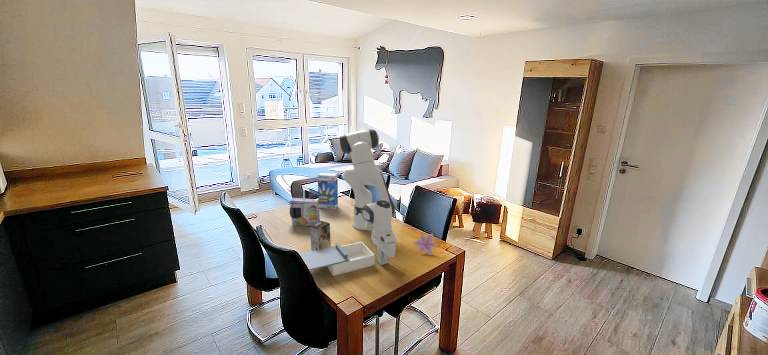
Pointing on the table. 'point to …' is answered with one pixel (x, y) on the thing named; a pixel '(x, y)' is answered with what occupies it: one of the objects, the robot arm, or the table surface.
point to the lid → (324, 257)
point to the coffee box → (320, 235)
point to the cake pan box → (304, 211)
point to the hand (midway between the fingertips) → (382, 256)
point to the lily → (425, 244)
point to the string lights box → (328, 190)
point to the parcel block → (381, 257)
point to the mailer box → (354, 259)
